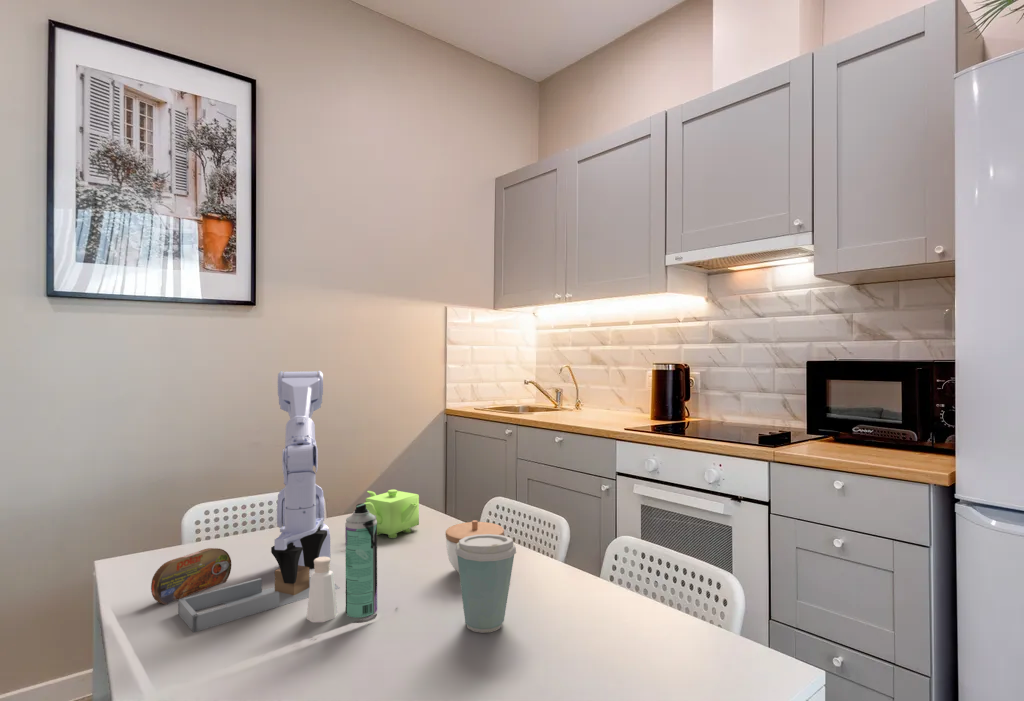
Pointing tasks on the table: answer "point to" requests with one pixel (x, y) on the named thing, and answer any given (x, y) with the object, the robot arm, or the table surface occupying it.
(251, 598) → the trap channel
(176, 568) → the tin
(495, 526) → the lidded bowl
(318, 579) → the salt shaker
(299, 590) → the walnut block
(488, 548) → the disposable coffee cup
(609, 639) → the table surface
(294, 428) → the robot arm
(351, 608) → the spray can
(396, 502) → the kettle
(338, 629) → the table surface
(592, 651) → the table surface
